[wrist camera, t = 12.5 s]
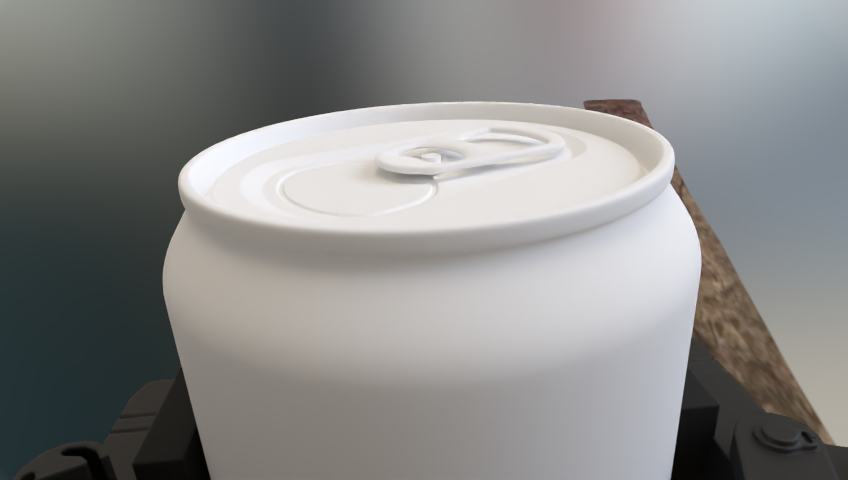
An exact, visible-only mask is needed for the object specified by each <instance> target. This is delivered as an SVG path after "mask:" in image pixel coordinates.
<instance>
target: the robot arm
mask: <svg viewBox="0 0 848 480" xmlns="http://www.w3.org/2000/svg"><path fill="white" fill-rule="evenodd" d="M13 480H211V478H210V474H209V470H208V467H207V463H206V459H205V455H204V451H203V447H202V443H201V439H200V435H199V432H198V428H197V424H196V420H195V416H194V412H193V408H192V404H191V401H190V397H189V393H188V389H187V385H186V381H185V377H184V373H183V369H182V367H181V369H180V371H179V373H178V375H177V377H176V379H169V380H157V381H149V382H148V383H147V384H146V385H145V386H144V387H142V388H141V389H140V390H139V391H138V392H137V393H135V394H134V395H133V396H132V397H131V398H130V399H129V401H128V403H127V404H126V406H125V408H124V409H123V411H122V413H121V414H120V419H118V420H117V421H116V423H115V424H114V426H113V428H112V429H111V434H109V435H108V436H107V438H106V439H105V441H104V443H103V444H102V445H101V444H99V443H97V442H95V441H77V442H72V443H68V444H63V445H60V446H58V447H56V448H53V449H51V450H48V451H46V452H44V453H42V454H41V455H39V456H38V457H36V458H35V459H33V460H32V461H30V462H28V463H27V464H26V465H25V466H24V467H23V468H22V469H21V470H20V471H19V472H18V473H17V474H16V475H15V476H14V478H13ZM671 480H848V447H840V446H833V445H828V444H824V443H823V442H822V441H821V439H820V438H819V436H818V435H817V434H816V433H814V432H813V431H812V430H810V429H809V428H808V427H806V426H805V425H804V424H802V423H799V422H797V421H795V420H793V419H791V418H789V417H785V416H781V415H777V414H773V413H767V412H766V411H765V410H764V409H763V408H762V407H761V406H760V405H759V404H758V403H757V402H756V401H755V400H754V399H753V398H752V397H751V396H750V395H749V393H748V392H747V391H746V390H745V389H744V388H743V387H742V386H741V385H740V384H739V383H738V382H737V381H736V380H735V379H734V378H733V377H732V375H731V374H730V373H729V372H726V371H725V368H724V367H723V366H722V365H721V364H720V363H719V362H718V361H717V360H714V356H713V355H712V354H711V353H710V352H709V351H708V350H707V349H706V348H705V347H704V346H703V345H702V344H701V343H700V342H699V341H697V340H695V339H693V338H692V337H691V343H690V349H689V356H688V363H687V370H686V377H685V384H684V391H683V397H682V404H681V411H680V418H679V425H678V432H677V438H676V445H675V452H674V459H673V466H672V473H671Z"/></svg>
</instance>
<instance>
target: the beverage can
mask: <svg viewBox="0 0 848 480" xmlns="http://www.w3.org/2000/svg"><path fill="white" fill-rule="evenodd" d="M674 156H675V155H674V151H673V148H672V146H671V144H670V143H669V142H668V141H667V140H666V139H665V138H664V137H663V136H662V135H660V134H659V133H657V132H656V131H654V130H652V129H651V128H648V127H646V126H644V125H642V124H639V123H637V122H634V121H631V120H628V119H624V118H621V117H617V116H613V115H609V114H605V113H600V112H595V111H589V110H583V109H577V108H570V107H561V106H552V105H542V104H528V103H510V102H509V103H508V102H440V103H419V104H405V105H392V106H381V107H372V108H363V109H355V110H348V111H341V112H334V113H328V114H322V115H316V116H310V117H305V118H301V119H296V120H291V121H287V122H282V123H278V124H274V125H270V126H266V127H263V128H260V129H256V130H252V131H249V132H247V133H243V134H241V135H238V136H235V137H232V138H229V139H227V140H224V141H222V142H220V143H218V144H215V145H213V146H211V147H209V148H208V149H206V150H204V151H202V152H201V153H199V154H198V155H196V156H195V157H194V158H192V159H191V160H190V161H189V162H188V163H187V164H186V165H185V166H184V168H183V169H182V170H181V172H180V175H179V179H178V187H179V192H180V197H181V200H182V203H183V205H184V207H185V209H186V210H185V212H184V214H183V216H182V218H181V221H180V222H179V224H178V227H177V228H176V231H175V233H174V235H173V237H172V239H171V242H170V244H169V247H168V250H167V254H166V258H165V262H164V269H163V292H164V298H165V302H166V307H167V311H168V314H169V319H170V323H171V326H172V330H173V334H174V338H175V342H176V346H177V350H178V354H179V358H180V362H181V366H182V369H183V373H184V377H185V381H186V385H187V389H188V393H189V397H190V401H191V404H192V408H193V412H194V416H195V420H196V424H197V428H198V432H199V435H200V439H201V443H202V447H203V451H204V455H205V459H206V463H207V467H208V470H209V474H210V478H211V480H671V473H672V466H673V459H674V452H675V445H676V438H677V432H678V425H679V418H680V411H681V404H682V397H683V391H684V384H685V377H686V370H687V363H688V356H689V349H690V343H691V336H692V329H693V322H694V315H695V308H696V301H697V294H698V287H699V280H700V273H701V251H700V243H699V239H698V236H697V232H696V229H695V226H694V224H693V221H692V219H691V217H690V215H689V213H688V212H687V210H686V208H685V206H684V204H683V203H682V201H681V200H680V198H679V196H678V195H677V193H676V192H675V190H674V189H673V187H672V186H671V184H670V181H671V178H672V176H673V171H674V163H675V157H674Z"/></svg>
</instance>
